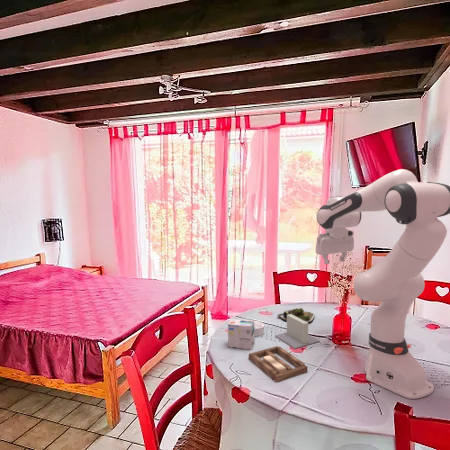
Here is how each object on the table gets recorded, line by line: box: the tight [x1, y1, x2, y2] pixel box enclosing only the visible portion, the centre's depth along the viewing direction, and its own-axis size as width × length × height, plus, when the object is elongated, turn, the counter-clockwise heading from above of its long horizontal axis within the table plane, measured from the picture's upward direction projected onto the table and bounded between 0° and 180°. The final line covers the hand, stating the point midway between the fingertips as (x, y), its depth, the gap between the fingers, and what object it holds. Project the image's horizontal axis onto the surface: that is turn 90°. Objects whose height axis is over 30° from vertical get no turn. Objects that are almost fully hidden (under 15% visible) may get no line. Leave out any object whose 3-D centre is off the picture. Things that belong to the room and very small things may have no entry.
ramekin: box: [254, 320, 265, 337], centre depth 160 cm, size 9×9×4 cm
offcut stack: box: [262, 355, 286, 373], centre depth 127 cm, size 11×3×3 cm, turn 27°
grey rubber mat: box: [275, 332, 320, 350], centre depth 153 cm, size 14×14×1 cm
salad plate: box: [276, 307, 315, 325], centre depth 180 cm, size 19×18×5 cm
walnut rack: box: [248, 345, 308, 383], centre depth 131 cm, size 19×14×2 cm
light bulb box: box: [227, 318, 256, 351], centre depth 147 cm, size 11×7×11 cm, turn 74°
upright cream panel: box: [286, 314, 309, 344], centre depth 153 cm, size 12×2×9 cm, turn 27°
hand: (334, 262), depth 154 cm, fingers open, 8 cm apart
